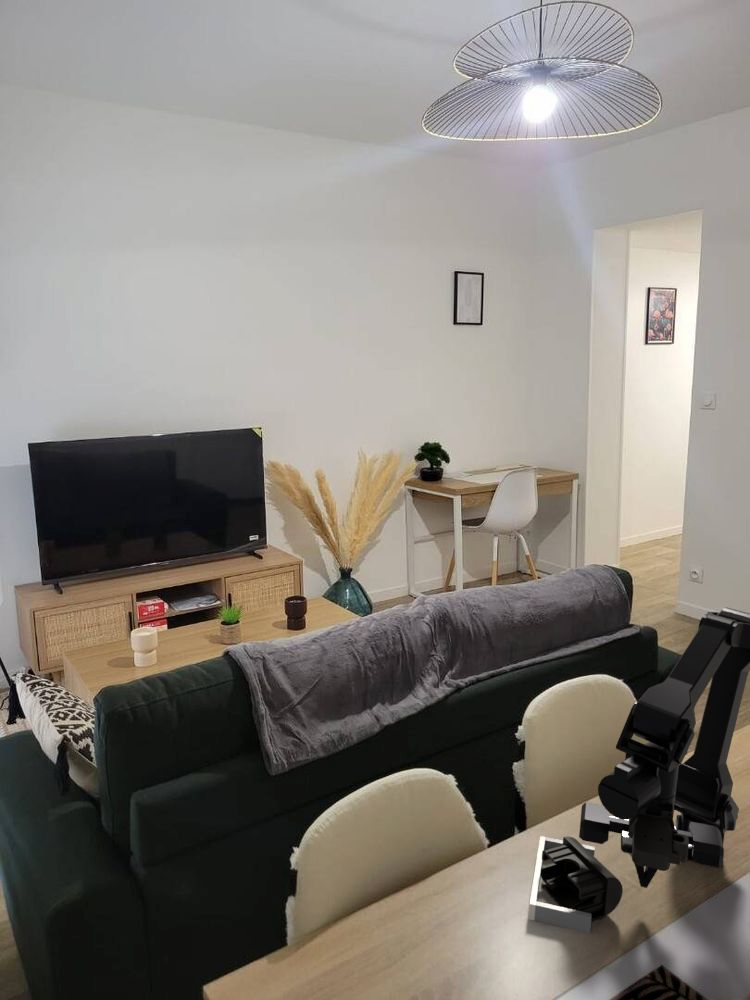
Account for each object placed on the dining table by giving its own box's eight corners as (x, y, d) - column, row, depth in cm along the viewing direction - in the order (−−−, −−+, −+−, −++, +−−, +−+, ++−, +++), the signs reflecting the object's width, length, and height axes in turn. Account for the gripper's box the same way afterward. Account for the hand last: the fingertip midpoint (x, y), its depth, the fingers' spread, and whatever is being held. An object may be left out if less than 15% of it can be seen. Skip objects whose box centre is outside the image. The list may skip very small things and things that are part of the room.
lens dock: (593, 861, 120) (594, 847, 120) (590, 933, 106) (591, 917, 105) (539, 849, 123) (540, 835, 122) (528, 919, 108) (529, 903, 108)
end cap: (621, 915, 109) (625, 873, 108) (580, 929, 107) (584, 886, 105) (576, 870, 118) (580, 831, 117) (537, 882, 116) (540, 842, 114)
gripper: (581, 807, 102) (572, 909, 106) (735, 836, 97) (720, 943, 100) (585, 763, 113) (577, 857, 116) (724, 788, 107) (711, 886, 111)
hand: (643, 885), depth 110 cm, fingers closed
